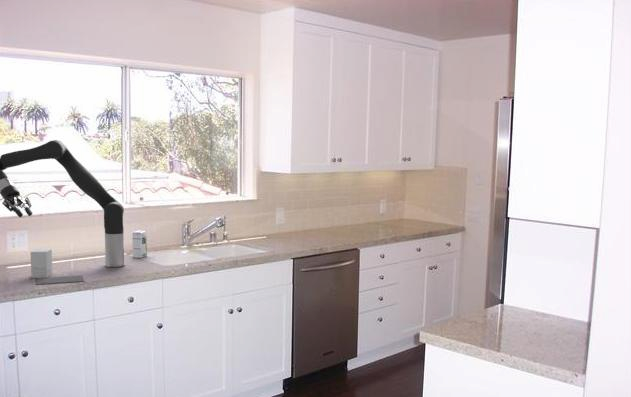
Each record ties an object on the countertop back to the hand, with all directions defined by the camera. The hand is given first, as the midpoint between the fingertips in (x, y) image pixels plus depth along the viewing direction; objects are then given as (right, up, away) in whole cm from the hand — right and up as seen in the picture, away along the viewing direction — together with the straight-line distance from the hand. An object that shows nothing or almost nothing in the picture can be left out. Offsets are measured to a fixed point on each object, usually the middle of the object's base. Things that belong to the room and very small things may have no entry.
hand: (26, 215), depth 284 cm
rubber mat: (+21, -30, -10) cm, 38 cm away
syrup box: (+40, -25, +48) cm, 67 cm away
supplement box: (+9, -29, -3) cm, 31 cm away
